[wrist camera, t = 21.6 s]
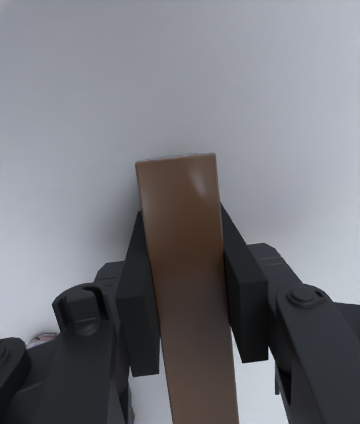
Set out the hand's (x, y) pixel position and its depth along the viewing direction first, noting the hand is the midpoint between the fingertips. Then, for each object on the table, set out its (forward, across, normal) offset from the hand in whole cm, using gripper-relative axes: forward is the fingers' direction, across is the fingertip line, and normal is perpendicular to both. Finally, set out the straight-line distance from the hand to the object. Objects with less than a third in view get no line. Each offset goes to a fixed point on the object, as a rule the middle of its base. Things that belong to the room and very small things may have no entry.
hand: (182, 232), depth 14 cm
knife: (-1, 0, -6) cm, 6 cm away
